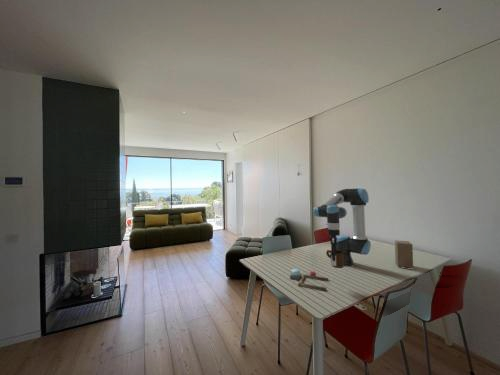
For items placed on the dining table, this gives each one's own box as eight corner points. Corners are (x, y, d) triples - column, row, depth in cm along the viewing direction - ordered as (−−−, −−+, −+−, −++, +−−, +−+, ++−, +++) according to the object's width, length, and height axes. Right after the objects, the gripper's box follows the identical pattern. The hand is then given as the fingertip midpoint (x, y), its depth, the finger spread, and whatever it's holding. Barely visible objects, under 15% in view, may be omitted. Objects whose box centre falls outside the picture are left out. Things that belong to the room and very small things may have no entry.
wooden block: (395, 263, 172) (394, 240, 173) (410, 265, 168) (409, 241, 168) (397, 267, 163) (397, 242, 164) (413, 269, 159) (412, 244, 159)
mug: (323, 263, 137) (322, 249, 137) (330, 261, 141) (329, 248, 141) (339, 269, 127) (338, 254, 127) (346, 266, 131) (345, 252, 131)
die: (310, 275, 152) (309, 269, 152) (314, 275, 151) (314, 269, 151) (310, 277, 148) (310, 271, 148) (315, 277, 148) (315, 271, 148)
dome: (292, 272, 152) (292, 268, 152) (300, 273, 150) (300, 269, 150) (290, 275, 147) (290, 271, 147) (299, 276, 144) (298, 272, 144)
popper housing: (292, 274, 153) (292, 272, 153) (301, 276, 150) (301, 273, 150) (289, 278, 146) (289, 275, 147) (299, 280, 143) (299, 277, 144)
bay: (303, 276, 150) (303, 274, 150) (328, 280, 143) (328, 278, 143) (298, 285, 135) (298, 283, 135) (326, 290, 127) (326, 288, 127)
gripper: (328, 226, 145) (329, 257, 144) (326, 231, 126) (327, 268, 125) (339, 226, 142) (340, 259, 141) (339, 232, 123) (340, 269, 122)
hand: (334, 263), depth 133 cm, fingers closed on mug, 8 cm apart
